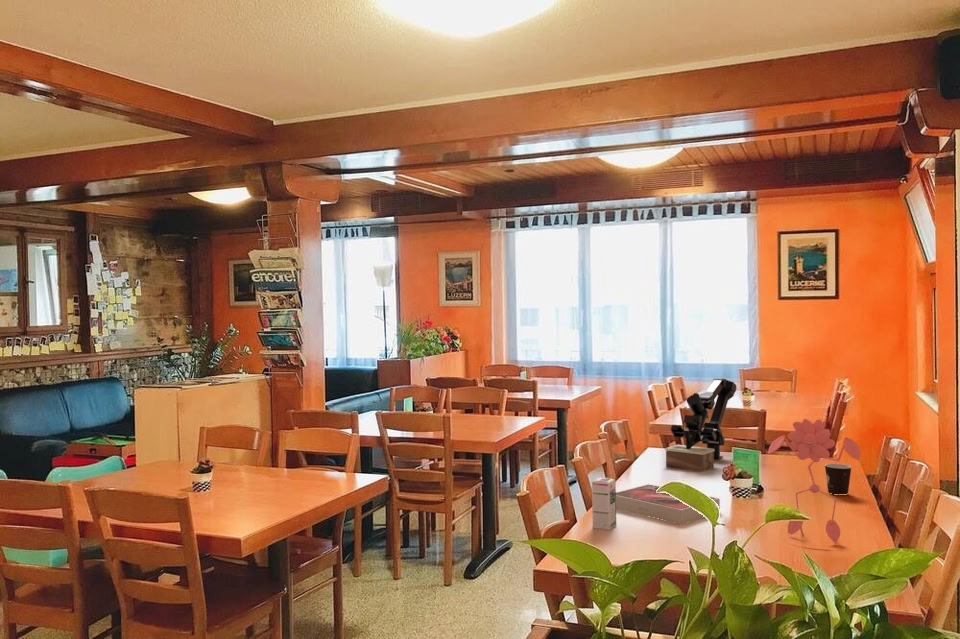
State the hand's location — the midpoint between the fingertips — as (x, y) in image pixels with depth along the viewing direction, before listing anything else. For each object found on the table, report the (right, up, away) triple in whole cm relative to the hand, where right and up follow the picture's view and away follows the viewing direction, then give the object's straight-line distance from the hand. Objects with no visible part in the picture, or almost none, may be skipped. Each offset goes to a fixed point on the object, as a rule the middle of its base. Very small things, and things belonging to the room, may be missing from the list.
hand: (687, 448), depth 318 cm
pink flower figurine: (+7, -9, -103) cm, 104 cm away
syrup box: (-50, -9, -88) cm, 101 cm away
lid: (+2, -1, +2) cm, 3 cm away
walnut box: (+2, -8, +2) cm, 8 cm away
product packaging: (-27, -9, -68) cm, 74 cm away
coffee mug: (+40, -8, -48) cm, 64 cm away
